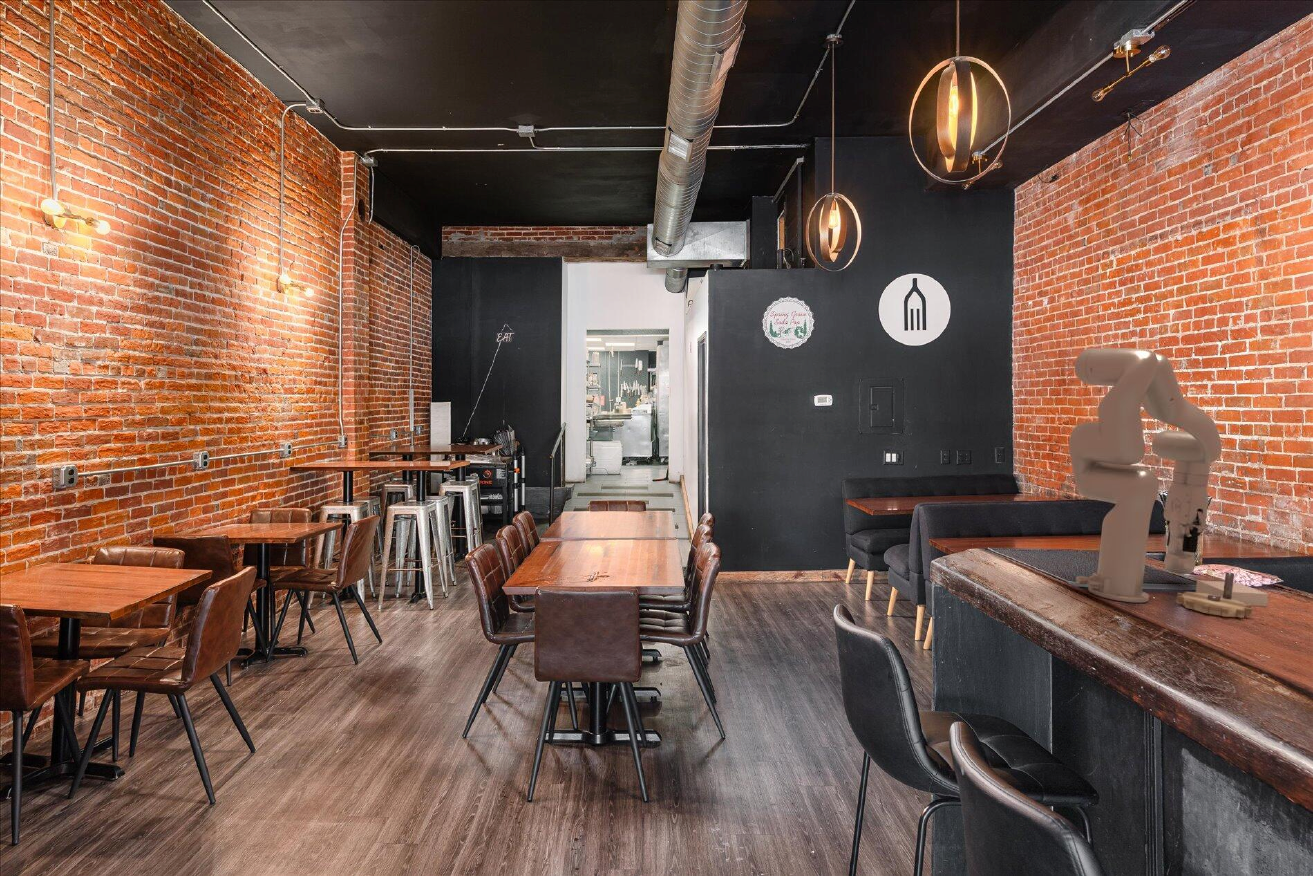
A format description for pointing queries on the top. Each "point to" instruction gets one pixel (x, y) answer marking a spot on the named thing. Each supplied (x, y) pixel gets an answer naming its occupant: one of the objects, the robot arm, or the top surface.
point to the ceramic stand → (1234, 592)
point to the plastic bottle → (1178, 548)
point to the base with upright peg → (1216, 601)
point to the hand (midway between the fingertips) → (1181, 548)
